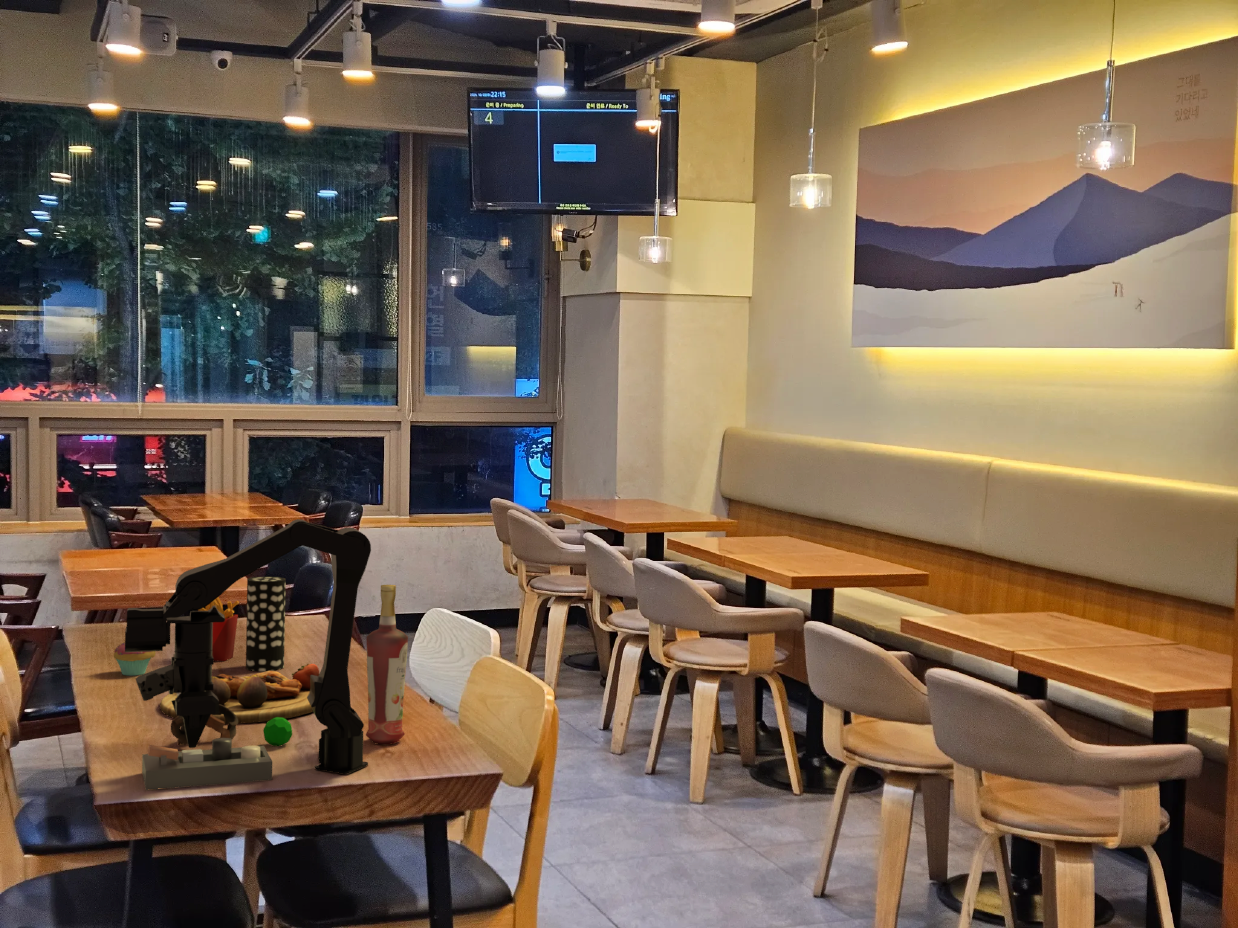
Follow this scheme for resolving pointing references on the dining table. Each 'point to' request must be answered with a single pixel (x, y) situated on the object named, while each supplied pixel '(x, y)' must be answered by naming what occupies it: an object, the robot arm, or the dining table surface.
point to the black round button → (221, 749)
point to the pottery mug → (208, 725)
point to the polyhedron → (277, 731)
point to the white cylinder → (250, 752)
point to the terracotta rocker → (163, 752)
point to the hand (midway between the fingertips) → (192, 747)
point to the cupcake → (132, 660)
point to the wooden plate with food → (259, 695)
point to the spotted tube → (265, 623)
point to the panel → (205, 770)
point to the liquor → (386, 674)
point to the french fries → (223, 631)
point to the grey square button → (192, 756)
